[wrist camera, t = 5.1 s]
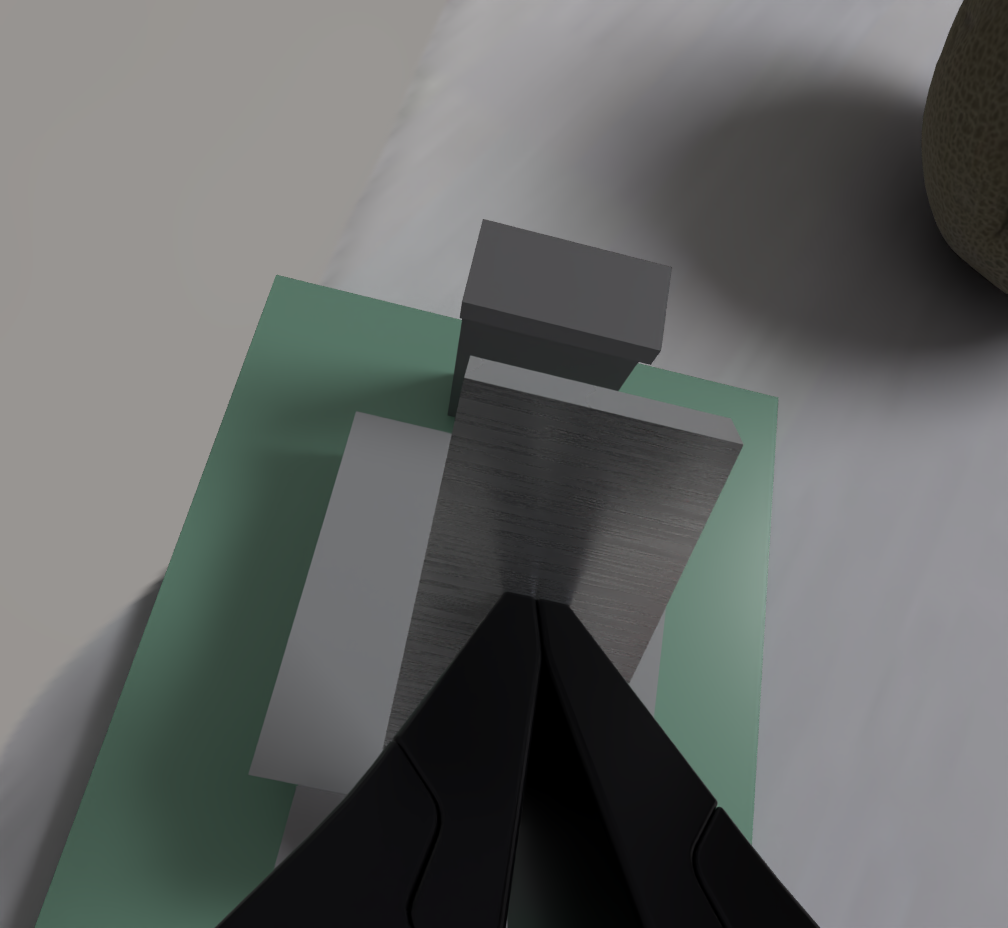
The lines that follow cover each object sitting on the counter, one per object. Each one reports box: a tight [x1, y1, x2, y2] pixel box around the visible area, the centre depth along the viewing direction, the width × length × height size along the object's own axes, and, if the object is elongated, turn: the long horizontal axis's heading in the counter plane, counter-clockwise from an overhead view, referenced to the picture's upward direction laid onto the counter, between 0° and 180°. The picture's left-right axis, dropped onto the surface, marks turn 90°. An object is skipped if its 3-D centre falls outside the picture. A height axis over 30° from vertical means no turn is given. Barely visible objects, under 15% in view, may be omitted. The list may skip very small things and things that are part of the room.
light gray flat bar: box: [382, 356, 744, 751], centre depth 10 cm, size 1×3×10 cm
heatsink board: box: [35, 219, 778, 928], centre depth 15 cm, size 18×16×8 cm
